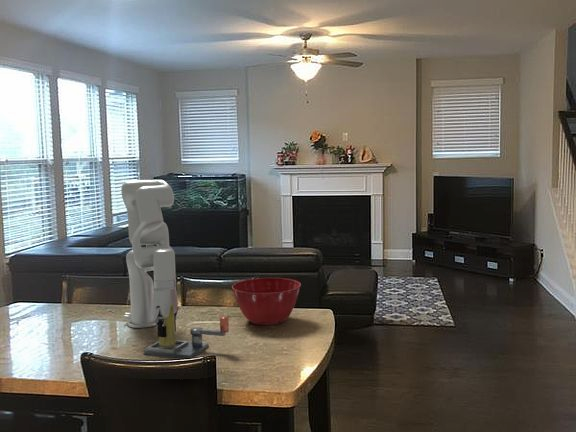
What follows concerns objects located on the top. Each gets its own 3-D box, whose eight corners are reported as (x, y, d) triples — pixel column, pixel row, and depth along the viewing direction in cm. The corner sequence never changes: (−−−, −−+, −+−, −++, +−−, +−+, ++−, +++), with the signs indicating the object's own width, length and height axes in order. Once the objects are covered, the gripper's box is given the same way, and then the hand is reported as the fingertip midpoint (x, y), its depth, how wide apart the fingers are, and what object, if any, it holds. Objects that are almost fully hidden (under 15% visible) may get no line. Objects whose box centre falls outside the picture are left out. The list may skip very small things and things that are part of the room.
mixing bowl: (296, 331, 234) (295, 292, 233) (225, 329, 239) (223, 291, 237) (305, 313, 262) (305, 278, 260) (242, 311, 266) (241, 277, 265)
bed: (143, 354, 210) (143, 339, 210) (164, 342, 223) (164, 328, 223) (189, 358, 204) (189, 343, 204) (208, 346, 217) (208, 332, 217)
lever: (188, 334, 214) (187, 316, 213) (194, 331, 218) (193, 313, 217) (225, 337, 209) (225, 319, 208) (231, 334, 213) (230, 316, 212)
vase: (159, 342, 216) (158, 303, 215) (177, 341, 217) (175, 302, 215) (157, 347, 210) (155, 307, 209) (175, 346, 211) (173, 306, 209)
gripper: (168, 278, 221) (170, 326, 223) (142, 288, 205) (144, 340, 206) (186, 279, 218) (188, 328, 220) (161, 290, 202) (163, 342, 204)
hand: (167, 333), depth 213 cm, fingers closed on vase, 5 cm apart
